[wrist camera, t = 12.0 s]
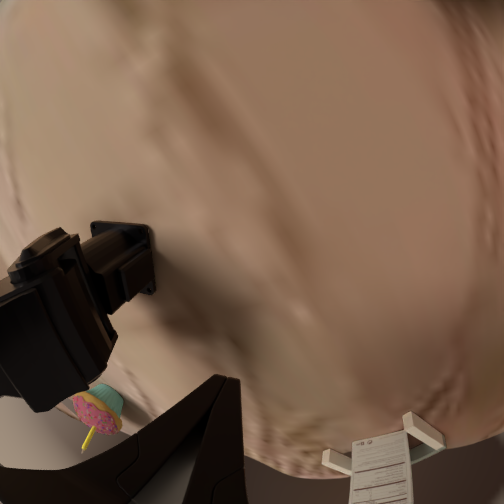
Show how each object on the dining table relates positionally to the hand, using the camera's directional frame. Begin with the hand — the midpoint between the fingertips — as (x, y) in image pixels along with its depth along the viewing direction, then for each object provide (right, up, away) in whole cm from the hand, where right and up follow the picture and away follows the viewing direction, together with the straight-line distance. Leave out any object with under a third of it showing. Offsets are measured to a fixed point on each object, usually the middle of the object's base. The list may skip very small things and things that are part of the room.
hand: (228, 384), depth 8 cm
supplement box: (+18, -21, +19) cm, 34 cm away
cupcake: (-21, -18, +28) cm, 39 cm away
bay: (+19, -22, +19) cm, 34 cm away
